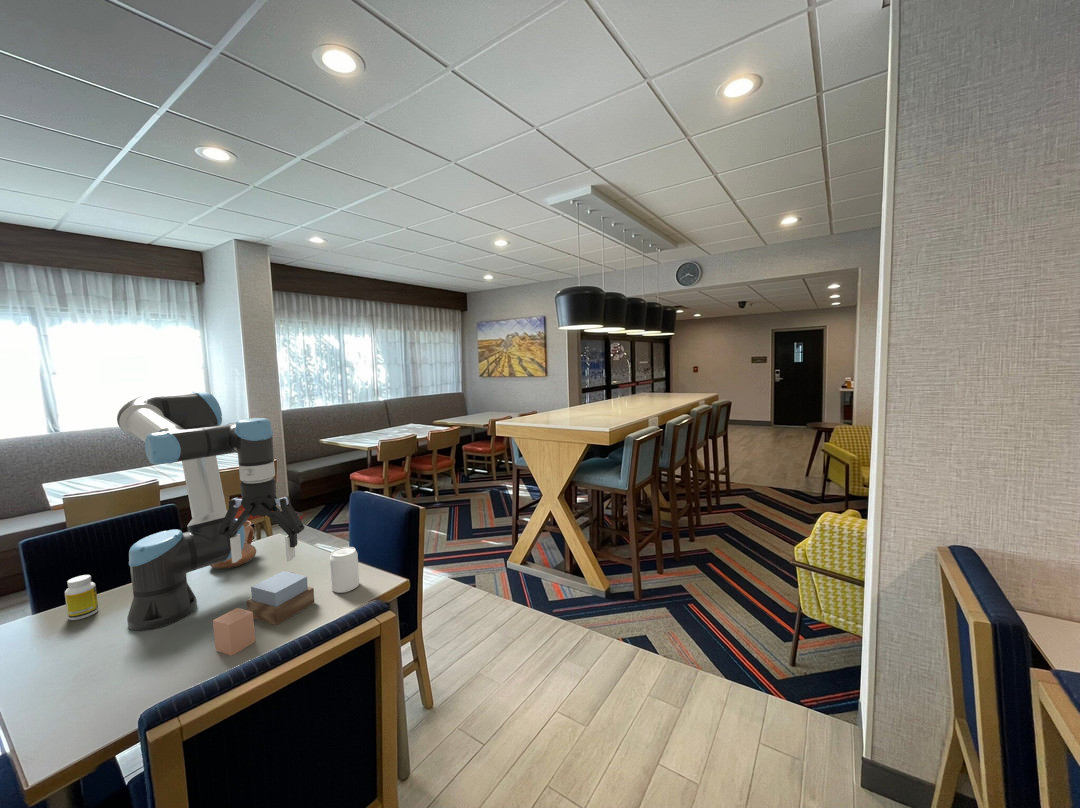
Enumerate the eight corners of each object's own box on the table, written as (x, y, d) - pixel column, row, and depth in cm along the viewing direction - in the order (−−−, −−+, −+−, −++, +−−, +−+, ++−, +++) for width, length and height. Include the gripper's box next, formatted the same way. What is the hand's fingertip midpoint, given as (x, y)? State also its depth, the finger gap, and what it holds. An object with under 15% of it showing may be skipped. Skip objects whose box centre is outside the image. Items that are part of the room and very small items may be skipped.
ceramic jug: (229, 576, 149) (226, 535, 148) (193, 572, 152) (191, 532, 150) (271, 554, 166) (269, 518, 165) (238, 551, 169) (236, 515, 168)
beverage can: (349, 595, 135) (346, 558, 134) (326, 593, 136) (323, 556, 135) (364, 582, 143) (362, 546, 141) (342, 580, 144) (340, 545, 143)
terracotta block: (215, 650, 110) (212, 620, 109) (239, 636, 115) (237, 607, 114) (231, 656, 107) (228, 625, 107) (255, 641, 113) (252, 612, 112)
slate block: (251, 600, 124) (250, 586, 124) (284, 583, 134) (283, 570, 133) (276, 606, 121) (275, 593, 120) (307, 589, 130) (306, 576, 129)
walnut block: (247, 617, 124) (246, 601, 124) (286, 596, 135) (284, 581, 135) (277, 626, 120) (276, 609, 119) (314, 603, 131) (313, 587, 131)
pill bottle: (102, 611, 128) (98, 575, 127) (73, 623, 123) (69, 585, 122) (92, 607, 131) (88, 571, 130) (63, 618, 125) (59, 581, 124)
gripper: (196, 484, 106) (203, 567, 109) (300, 482, 107) (306, 565, 110) (217, 476, 114) (224, 554, 116) (315, 474, 115) (320, 552, 117)
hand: (264, 559), depth 113 cm, fingers open, 13 cm apart
